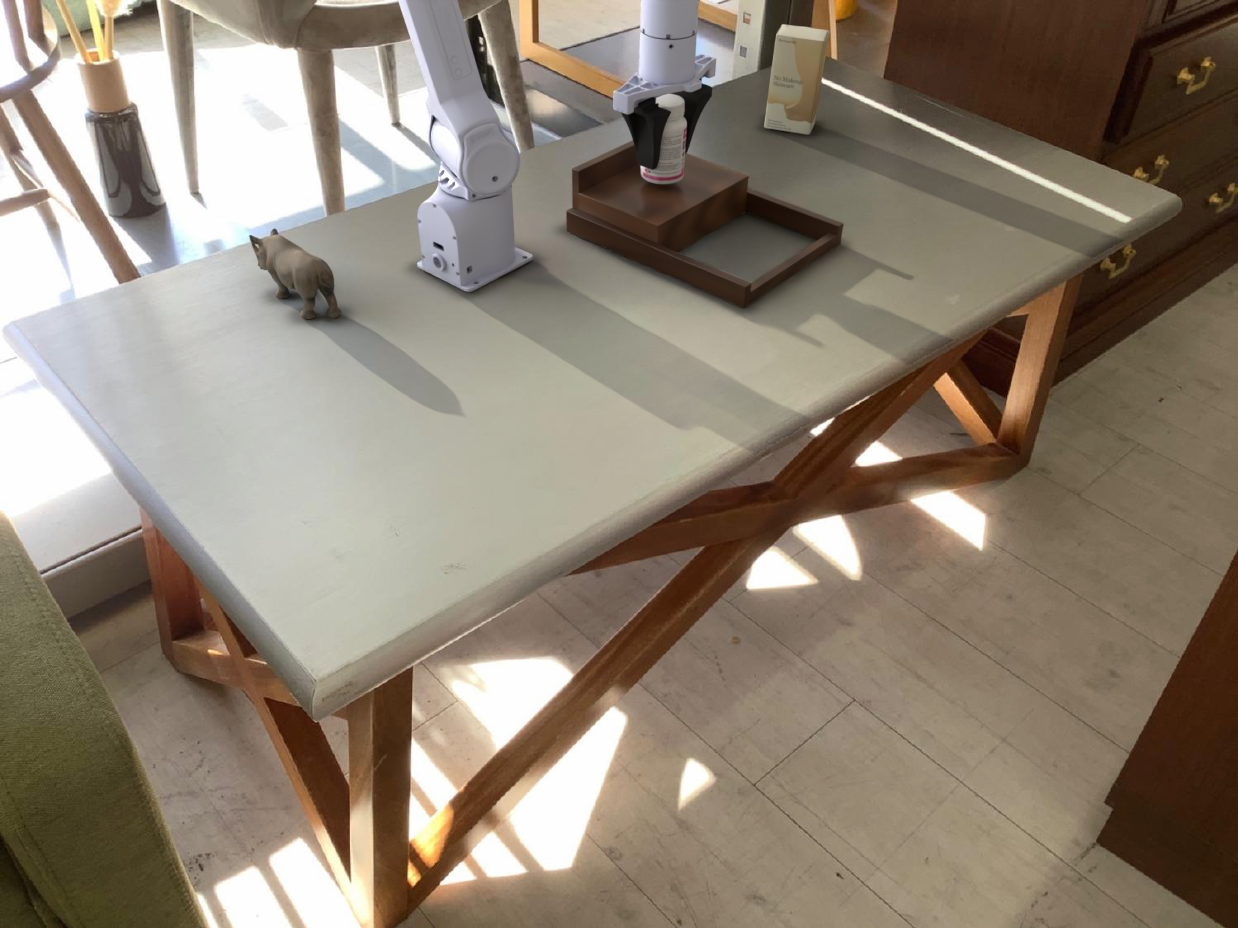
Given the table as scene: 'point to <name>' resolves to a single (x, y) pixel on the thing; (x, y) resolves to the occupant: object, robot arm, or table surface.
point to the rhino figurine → (296, 272)
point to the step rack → (685, 219)
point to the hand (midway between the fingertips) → (662, 159)
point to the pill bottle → (670, 143)
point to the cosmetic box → (796, 78)
